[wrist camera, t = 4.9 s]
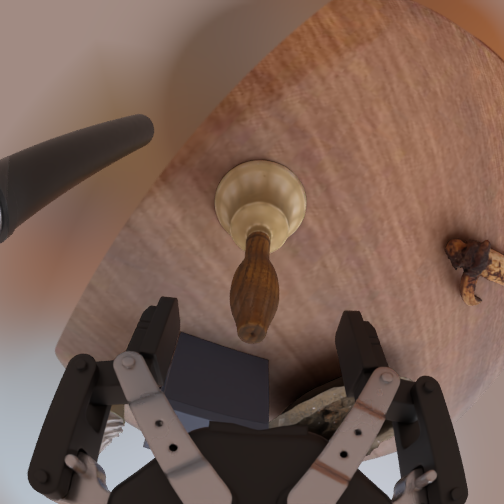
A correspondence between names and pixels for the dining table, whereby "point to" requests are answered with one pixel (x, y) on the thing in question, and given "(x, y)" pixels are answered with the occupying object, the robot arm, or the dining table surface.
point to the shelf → (216, 385)
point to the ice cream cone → (113, 425)
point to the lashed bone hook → (475, 265)
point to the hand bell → (258, 236)
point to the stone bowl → (326, 412)
